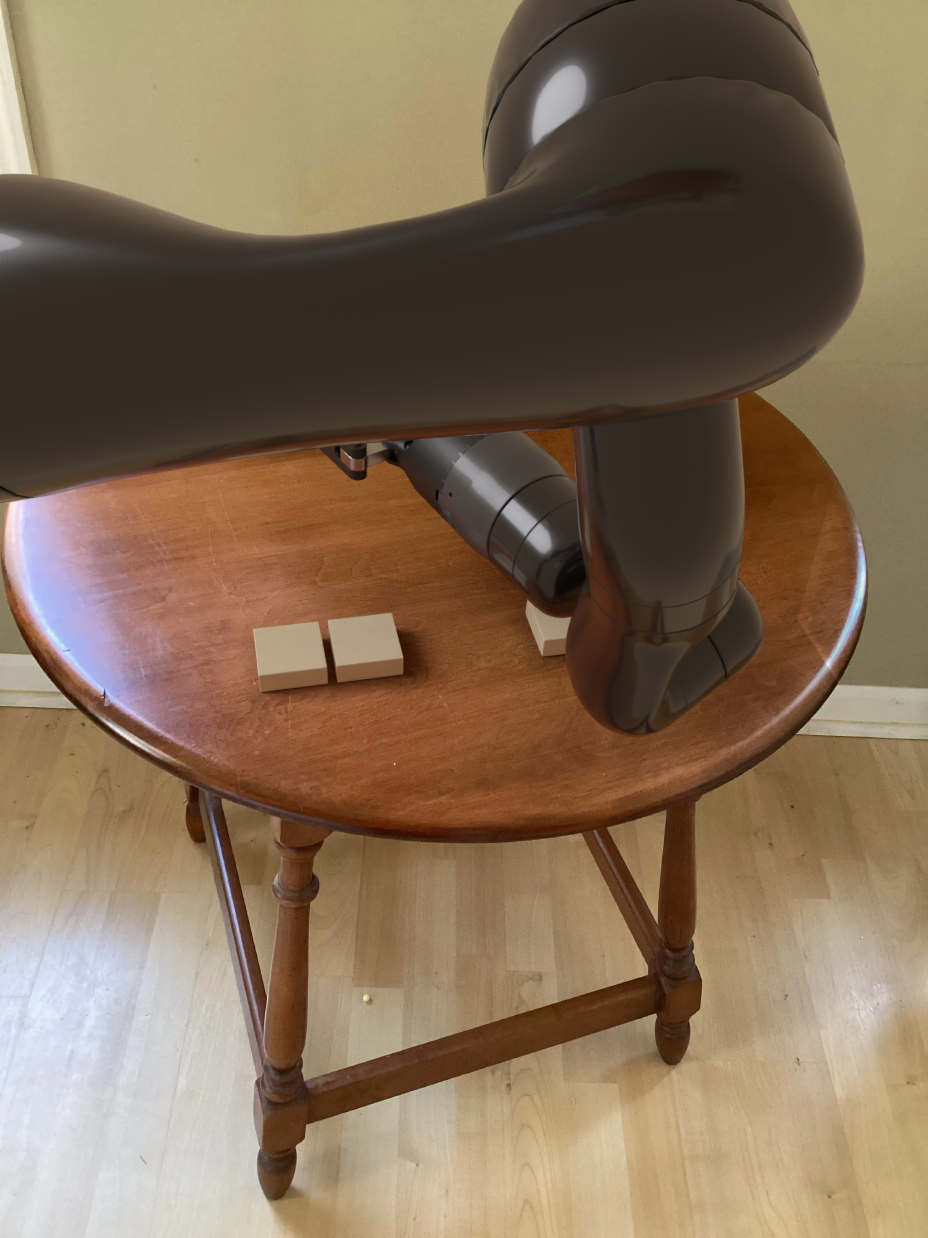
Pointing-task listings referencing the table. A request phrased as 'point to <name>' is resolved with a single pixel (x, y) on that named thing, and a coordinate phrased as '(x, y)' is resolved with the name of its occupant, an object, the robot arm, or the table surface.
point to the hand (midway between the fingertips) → (368, 366)
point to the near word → (359, 649)
